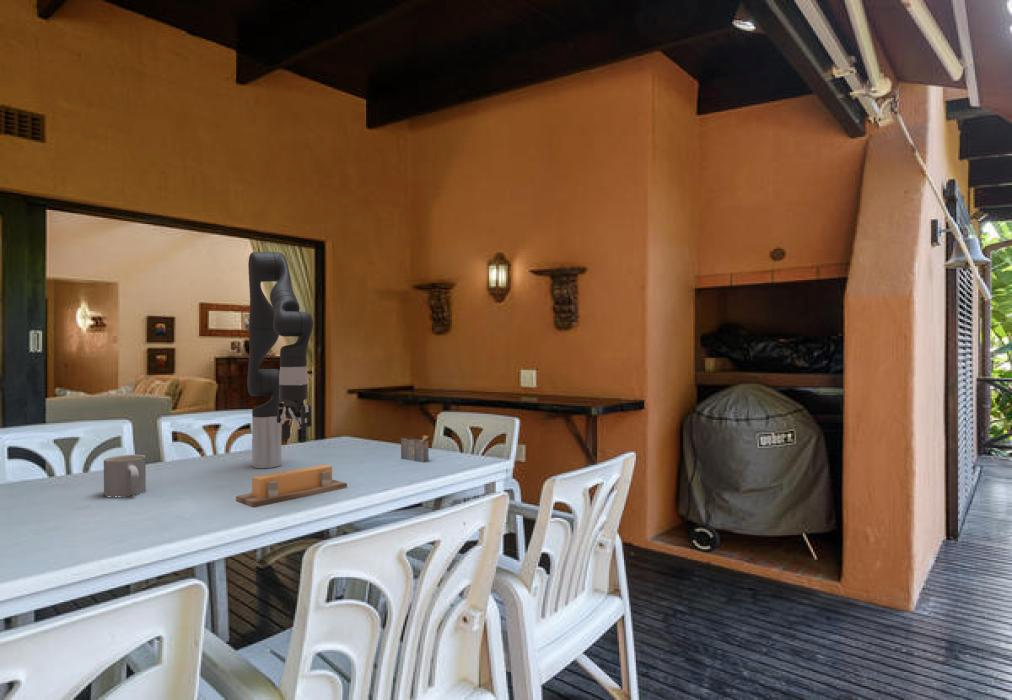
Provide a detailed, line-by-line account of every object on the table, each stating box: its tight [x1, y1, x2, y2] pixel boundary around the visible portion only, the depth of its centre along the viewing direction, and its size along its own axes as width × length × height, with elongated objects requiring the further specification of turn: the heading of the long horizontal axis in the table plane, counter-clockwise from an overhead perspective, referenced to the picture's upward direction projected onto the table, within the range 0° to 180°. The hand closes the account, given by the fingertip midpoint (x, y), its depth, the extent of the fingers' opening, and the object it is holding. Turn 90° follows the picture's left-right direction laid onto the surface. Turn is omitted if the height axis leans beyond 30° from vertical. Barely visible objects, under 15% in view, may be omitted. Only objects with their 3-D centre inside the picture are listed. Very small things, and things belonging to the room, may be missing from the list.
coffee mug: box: [103, 454, 147, 497], centre depth 168 cm, size 13×10×10 cm
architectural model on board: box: [400, 434, 430, 464], centre depth 218 cm, size 11×3×10 cm, turn 53°
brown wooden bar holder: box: [235, 471, 348, 508], centre depth 169 cm, size 10×28×5 cm, turn 139°
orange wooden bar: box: [251, 464, 333, 498], centre depth 169 cm, size 4×22×5 cm, turn 139°
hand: (293, 440), depth 169 cm, fingers open, 8 cm apart
